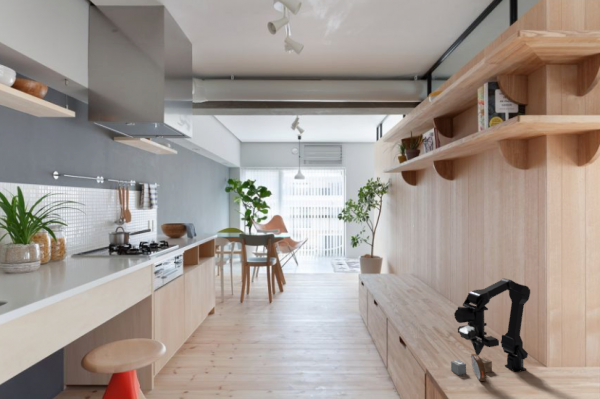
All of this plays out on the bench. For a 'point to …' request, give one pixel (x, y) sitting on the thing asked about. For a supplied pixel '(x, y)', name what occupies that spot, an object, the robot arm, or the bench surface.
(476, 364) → the tin
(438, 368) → the bench surface
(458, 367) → the slate number block
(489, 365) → the walnut number block
